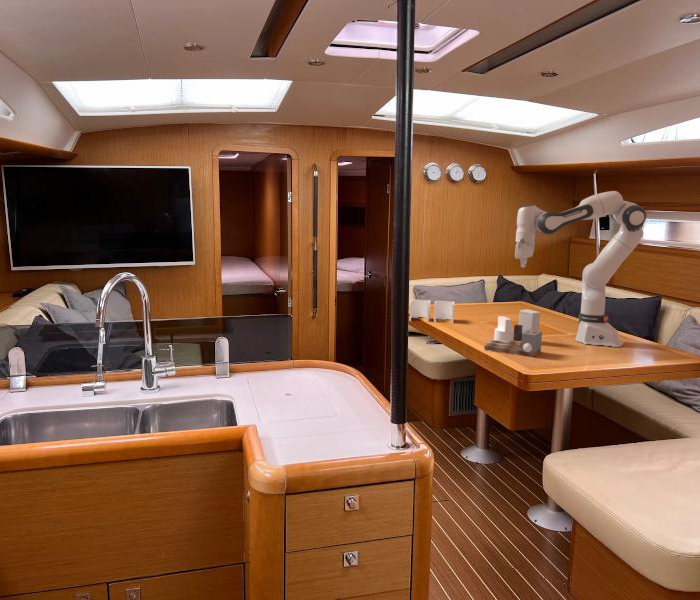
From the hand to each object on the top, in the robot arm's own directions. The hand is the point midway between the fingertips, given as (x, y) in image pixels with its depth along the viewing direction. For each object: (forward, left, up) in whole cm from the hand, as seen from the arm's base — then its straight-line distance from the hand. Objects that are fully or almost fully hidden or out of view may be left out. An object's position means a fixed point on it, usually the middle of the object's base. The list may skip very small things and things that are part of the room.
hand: (523, 267), depth 305 cm
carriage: (-6, +22, -34) cm, 41 cm away
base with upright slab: (+6, +5, -37) cm, 38 cm away
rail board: (-4, +22, -37) cm, 43 cm away
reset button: (-12, +22, -30) cm, 39 cm away
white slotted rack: (+57, -25, -38) cm, 73 cm away
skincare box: (-4, -2, -37) cm, 38 cm away
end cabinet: (-12, +22, -37) cm, 45 cm away
